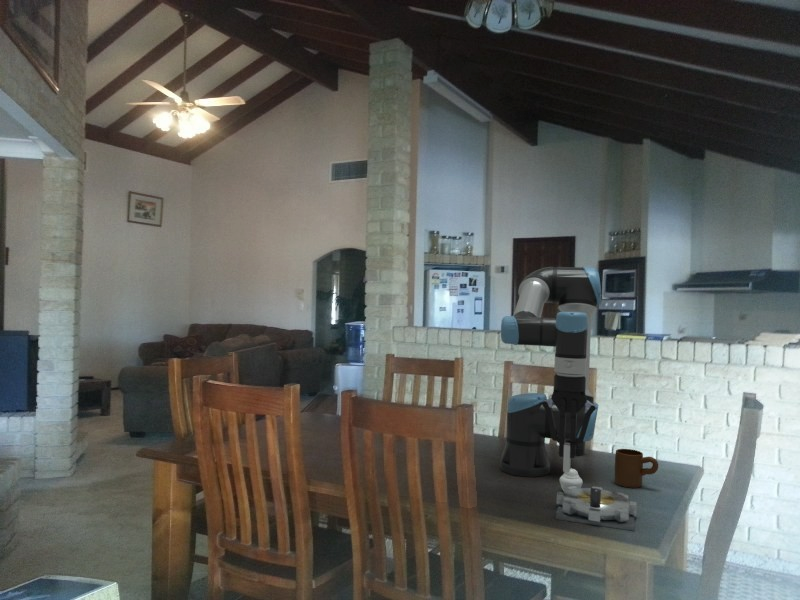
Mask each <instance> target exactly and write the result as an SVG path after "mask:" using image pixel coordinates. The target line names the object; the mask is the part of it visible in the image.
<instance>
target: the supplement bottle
mask: <svg viewBox="0 0 800 600" xmlns="http://www.w3.org/2000/svg"><path fill="white" fill-rule="evenodd" d="M565 443H570V440H565ZM585 454H586V441H583V443H581V444H577V445H576V450H575V457H576V456H578V457H579V456H584V455H585Z"/></svg>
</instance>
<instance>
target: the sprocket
mask: <svg viewBox="0 0 800 600" xmlns="http://www.w3.org/2000/svg"><path fill="white" fill-rule="evenodd" d="M555 503H556V505H559V504H560V505H563V509H562V511H564V512H565V513H567V514H569V515H570V514H577V515H580V516H583V517H587V518H589V520H591V521H598V522H600V520H617V521H619V522H623V521H628V519H629V514H630V515H634V516H637V506H638V504H637V502H636V501H631V500H629V495H628V494H626V493H623V492H614V491H610V490H607V489H603V487H601V486H592V487H581V488H577V487H575V486H572V487H567V491H565V492H564V491H557V493H556V502H555Z"/></svg>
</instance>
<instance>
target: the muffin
mask: <svg viewBox="0 0 800 600" xmlns="http://www.w3.org/2000/svg"><path fill="white" fill-rule="evenodd" d="M559 483H560V484H559V485H560V487H561V489H562V490H563V491H562V492H565V491H567V487H572V486H575V487H577V488H582V486H583V479H582V478H581V477H580V475H579V473H578V471H577V470H576V469H575V468H572V467H570V471H569V472H563V474H562V475H561V476H560V477H559Z"/></svg>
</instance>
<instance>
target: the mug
mask: <svg viewBox="0 0 800 600" xmlns="http://www.w3.org/2000/svg"><path fill="white" fill-rule="evenodd" d="M647 463H652V466H651V467H650V468H649V467H646V468H644V464H647ZM658 469H659V462H658V460H657V459H656V458H654V457H652V456H644V453H643V452H641V451H639V450H636V449H632V448H631V449H630V448H619V449H618V448H617V449H616V450H615V456H614V483H616V484H617V485H618V486H620V487H624V488H629V489H630V488H631V489H636V488H640V487H642V485H643V477H644V476H646V475H653V474H655V473H657V471H658Z"/></svg>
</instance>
